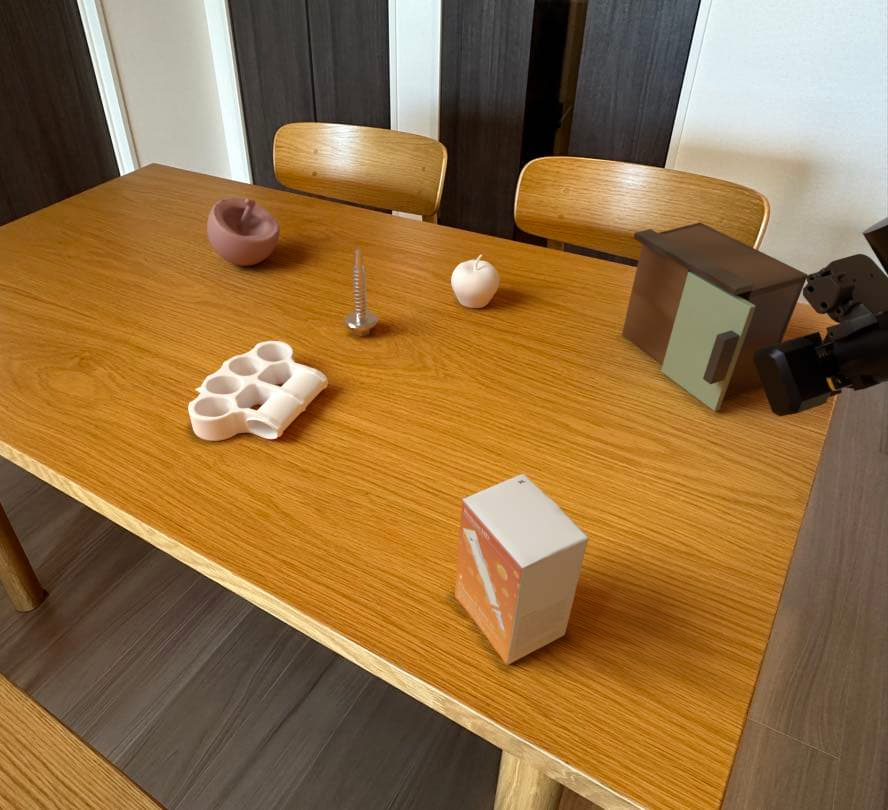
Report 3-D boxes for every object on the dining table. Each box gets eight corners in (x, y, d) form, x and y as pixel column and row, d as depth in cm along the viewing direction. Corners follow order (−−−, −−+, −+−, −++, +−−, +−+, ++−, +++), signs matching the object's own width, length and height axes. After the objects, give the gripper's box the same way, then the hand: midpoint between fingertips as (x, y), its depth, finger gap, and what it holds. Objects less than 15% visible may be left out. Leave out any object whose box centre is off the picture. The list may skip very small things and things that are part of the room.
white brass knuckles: (264, 461, 79) (166, 426, 85) (341, 378, 91) (251, 352, 97) (260, 439, 77) (160, 405, 83) (340, 357, 89) (247, 332, 95)
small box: (453, 597, 64) (459, 497, 55) (509, 570, 66) (524, 470, 57) (506, 668, 58) (522, 568, 50) (567, 637, 60) (592, 535, 52)
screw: (359, 319, 103) (385, 329, 100) (338, 334, 100) (364, 344, 97) (354, 238, 95) (383, 246, 92) (332, 251, 92) (360, 260, 89)
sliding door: (719, 409, 82) (756, 305, 73) (700, 416, 81) (735, 311, 72) (665, 369, 88) (693, 270, 80) (647, 375, 87) (673, 275, 79)
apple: (479, 319, 101) (483, 269, 96) (440, 304, 105) (442, 255, 100) (506, 300, 105) (511, 252, 100) (468, 286, 109) (471, 239, 104)
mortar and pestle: (266, 281, 114) (257, 215, 107) (201, 274, 117) (188, 209, 110) (293, 249, 123) (286, 186, 116) (232, 244, 126) (221, 182, 119)
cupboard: (765, 383, 86) (810, 267, 76) (697, 406, 83) (736, 289, 73) (672, 323, 98) (701, 216, 88) (611, 340, 95) (634, 232, 85)
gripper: (976, 220, 59) (815, 281, 74) (811, 267, 54) (675, 322, 69) (1026, 344, 58) (853, 379, 73) (862, 403, 53) (713, 428, 68)
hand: (775, 374), depth 71 cm, fingers closed
